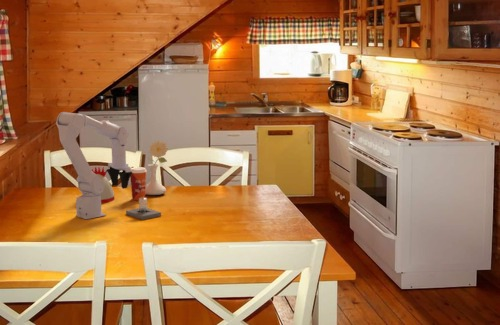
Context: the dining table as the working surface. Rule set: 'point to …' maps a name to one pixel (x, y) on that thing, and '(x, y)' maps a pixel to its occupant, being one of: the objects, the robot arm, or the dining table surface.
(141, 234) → the dining table surface
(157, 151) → the flower in vase
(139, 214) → the block
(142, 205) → the battery cell
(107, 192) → the kitchen timer
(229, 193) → the dining table surface
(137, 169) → the paper cup
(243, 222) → the dining table surface
